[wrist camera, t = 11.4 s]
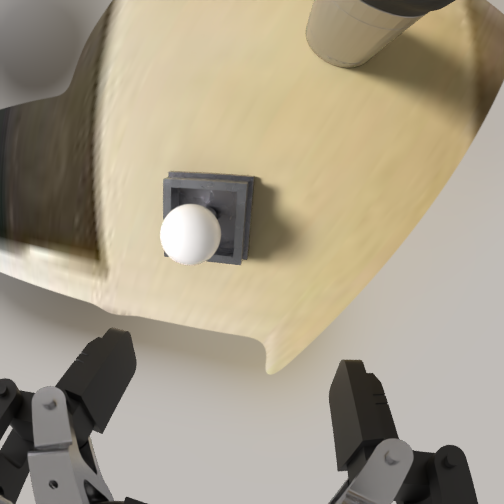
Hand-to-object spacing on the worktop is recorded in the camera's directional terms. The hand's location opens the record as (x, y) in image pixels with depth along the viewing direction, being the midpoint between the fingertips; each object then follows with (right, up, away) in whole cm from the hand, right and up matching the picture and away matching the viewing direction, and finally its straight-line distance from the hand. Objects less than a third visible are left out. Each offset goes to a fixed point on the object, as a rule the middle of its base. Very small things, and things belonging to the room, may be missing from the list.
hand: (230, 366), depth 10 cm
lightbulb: (-5, +9, +26) cm, 28 cm away
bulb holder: (-5, +9, +27) cm, 29 cm away
